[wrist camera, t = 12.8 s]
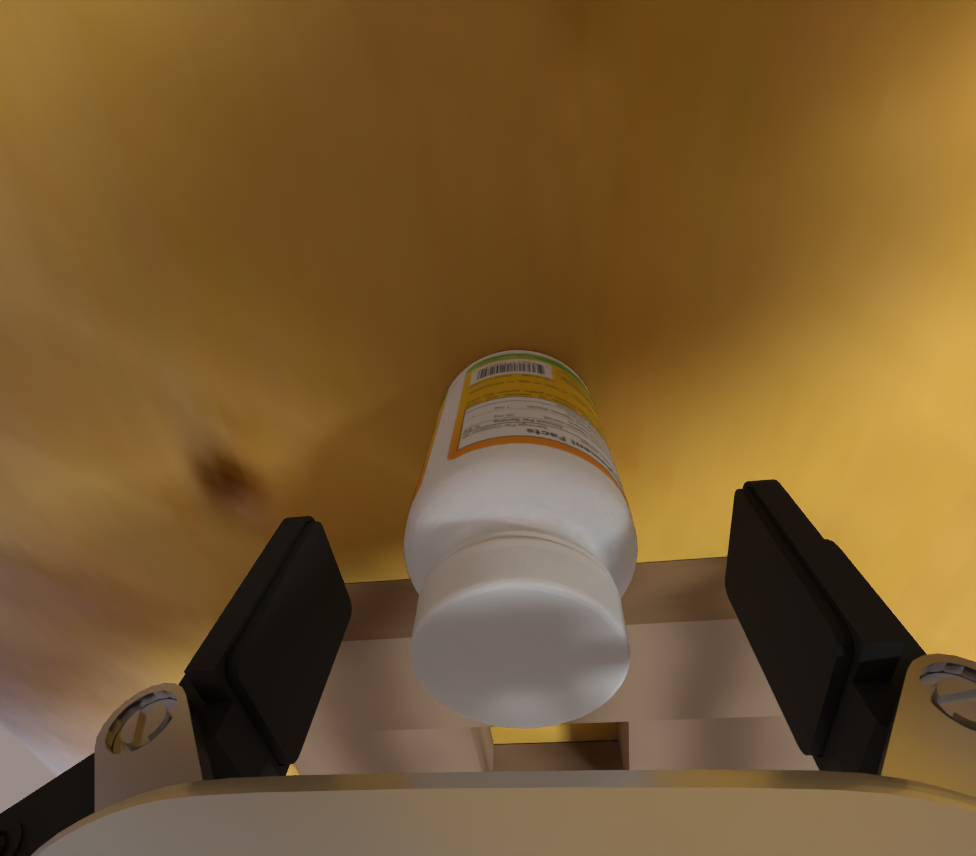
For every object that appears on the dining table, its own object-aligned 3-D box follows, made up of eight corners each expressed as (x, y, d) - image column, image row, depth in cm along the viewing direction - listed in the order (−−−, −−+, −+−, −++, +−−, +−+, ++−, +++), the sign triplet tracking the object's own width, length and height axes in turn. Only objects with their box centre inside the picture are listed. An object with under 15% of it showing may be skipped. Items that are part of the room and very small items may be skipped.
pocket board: (838, 549, 19) (889, 609, 17) (778, 795, 28) (806, 861, 25) (262, 589, 22) (228, 648, 19) (365, 803, 30) (351, 865, 28)
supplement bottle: (518, 506, 19) (520, 782, 11) (410, 420, 18) (311, 662, 9) (627, 417, 17) (738, 670, 9) (516, 311, 16) (517, 491, 7)
